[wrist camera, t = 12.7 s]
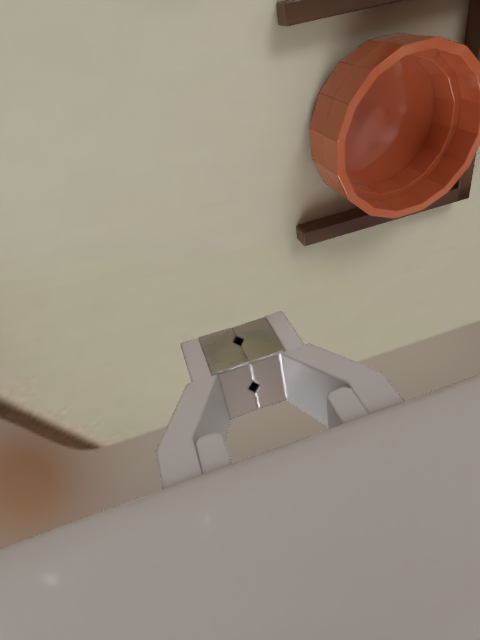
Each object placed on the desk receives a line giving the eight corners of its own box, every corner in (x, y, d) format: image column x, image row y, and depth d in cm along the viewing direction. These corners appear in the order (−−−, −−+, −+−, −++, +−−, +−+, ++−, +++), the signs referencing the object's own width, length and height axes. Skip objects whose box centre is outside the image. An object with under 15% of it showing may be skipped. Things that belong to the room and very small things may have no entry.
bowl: (300, 54, 30) (334, 62, 26) (450, 18, 31) (504, 20, 27) (312, 210, 36) (339, 235, 32) (434, 174, 38) (475, 194, 34)
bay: (275, 2, 27) (285, 2, 26) (491, -45, 29) (509, -47, 28) (297, 238, 37) (304, 246, 36) (456, 192, 39) (469, 198, 38)
